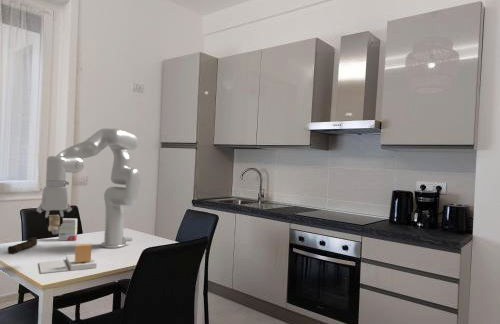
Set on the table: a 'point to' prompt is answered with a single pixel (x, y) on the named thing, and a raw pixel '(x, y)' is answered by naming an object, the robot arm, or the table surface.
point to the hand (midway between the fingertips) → (53, 225)
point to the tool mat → (53, 266)
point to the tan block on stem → (54, 223)
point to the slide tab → (82, 253)
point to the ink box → (68, 230)
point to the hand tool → (22, 245)
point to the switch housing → (80, 263)
